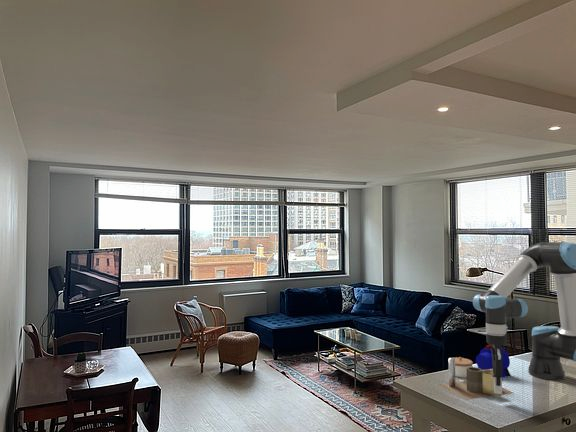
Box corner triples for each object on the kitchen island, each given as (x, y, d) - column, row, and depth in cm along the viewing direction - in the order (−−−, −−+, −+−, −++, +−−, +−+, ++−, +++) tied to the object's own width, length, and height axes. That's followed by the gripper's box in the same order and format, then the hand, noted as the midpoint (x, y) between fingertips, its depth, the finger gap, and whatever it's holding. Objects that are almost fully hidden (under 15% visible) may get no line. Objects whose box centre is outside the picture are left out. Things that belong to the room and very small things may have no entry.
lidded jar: (465, 382, 194) (465, 362, 194) (444, 376, 202) (444, 356, 203) (477, 377, 201) (476, 357, 201) (455, 372, 209) (455, 352, 209)
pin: (452, 384, 188) (452, 357, 188) (456, 387, 185) (456, 359, 186) (447, 385, 187) (447, 357, 187) (451, 387, 184) (451, 359, 185)
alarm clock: (511, 376, 203) (511, 344, 204) (492, 379, 198) (492, 347, 199) (490, 368, 214) (490, 338, 215) (472, 371, 210) (472, 341, 210)
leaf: (501, 396, 174) (501, 376, 174) (501, 396, 174) (500, 377, 174) (483, 392, 178) (482, 373, 179) (482, 392, 178) (482, 373, 178)
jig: (483, 381, 195) (482, 359, 196) (514, 395, 178) (513, 371, 179) (438, 386, 189) (438, 363, 189) (466, 402, 171) (466, 376, 172)
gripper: (509, 337, 166) (511, 399, 165) (503, 331, 178) (505, 389, 177) (488, 336, 169) (490, 397, 167) (484, 330, 181) (485, 387, 179)
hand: (498, 393), depth 172 cm, fingers closed
